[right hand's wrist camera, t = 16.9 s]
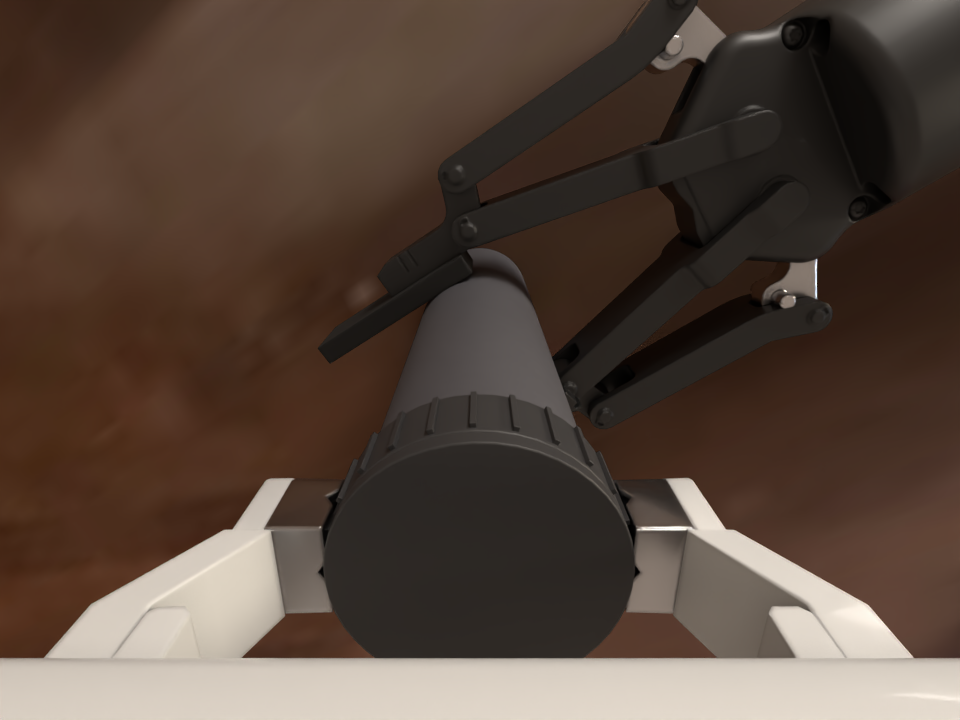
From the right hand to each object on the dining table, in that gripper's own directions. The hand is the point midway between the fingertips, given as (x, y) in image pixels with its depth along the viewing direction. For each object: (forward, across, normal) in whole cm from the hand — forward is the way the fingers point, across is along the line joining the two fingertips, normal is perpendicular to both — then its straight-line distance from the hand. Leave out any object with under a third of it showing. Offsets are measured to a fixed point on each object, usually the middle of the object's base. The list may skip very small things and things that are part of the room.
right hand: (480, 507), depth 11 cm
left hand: (+12, -4, -3) cm, 13 cm away
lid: (-2, 0, 0) cm, 2 cm away
